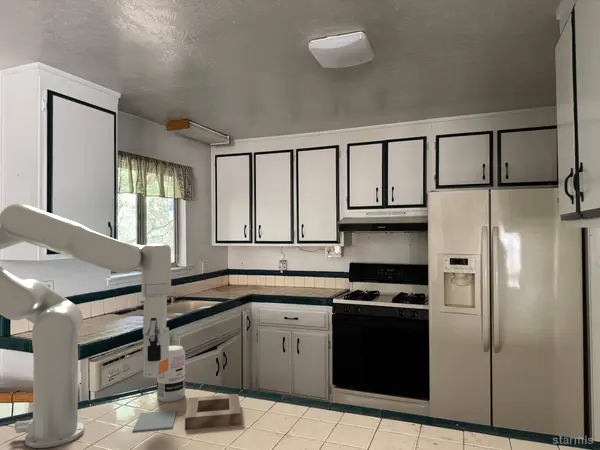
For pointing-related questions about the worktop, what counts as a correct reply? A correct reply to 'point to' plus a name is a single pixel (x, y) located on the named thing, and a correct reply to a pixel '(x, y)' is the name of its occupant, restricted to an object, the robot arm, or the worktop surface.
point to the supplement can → (173, 376)
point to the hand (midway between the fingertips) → (156, 356)
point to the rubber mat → (155, 421)
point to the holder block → (213, 418)
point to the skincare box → (156, 367)
